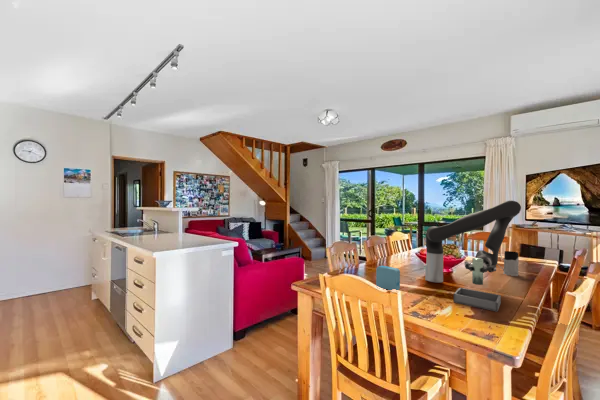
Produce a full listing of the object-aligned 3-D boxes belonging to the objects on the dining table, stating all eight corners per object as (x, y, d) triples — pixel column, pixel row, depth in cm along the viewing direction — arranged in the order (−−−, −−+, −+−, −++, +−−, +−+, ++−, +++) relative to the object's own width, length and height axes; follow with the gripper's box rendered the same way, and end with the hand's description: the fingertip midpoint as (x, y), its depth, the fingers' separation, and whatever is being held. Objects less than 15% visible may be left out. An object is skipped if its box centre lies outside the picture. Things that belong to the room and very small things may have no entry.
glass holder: (519, 276, 184) (520, 253, 184) (493, 273, 191) (493, 251, 191) (518, 273, 191) (518, 251, 191) (493, 270, 199) (493, 249, 199)
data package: (399, 290, 153) (400, 268, 153) (396, 292, 150) (396, 270, 150) (380, 285, 162) (380, 264, 162) (375, 287, 158) (376, 266, 158)
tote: (453, 302, 137) (453, 294, 137) (459, 295, 147) (459, 287, 147) (497, 311, 125) (497, 302, 125) (500, 303, 136) (500, 295, 136)
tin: (471, 283, 136) (471, 258, 136) (473, 281, 139) (473, 257, 139) (482, 285, 133) (482, 260, 133) (483, 283, 136) (483, 258, 136)
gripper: (466, 254, 152) (459, 259, 139) (498, 258, 142) (495, 264, 129) (466, 268, 152) (459, 275, 139) (498, 273, 142) (494, 280, 129)
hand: (476, 269), depth 134 cm, fingers closed on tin, 4 cm apart
